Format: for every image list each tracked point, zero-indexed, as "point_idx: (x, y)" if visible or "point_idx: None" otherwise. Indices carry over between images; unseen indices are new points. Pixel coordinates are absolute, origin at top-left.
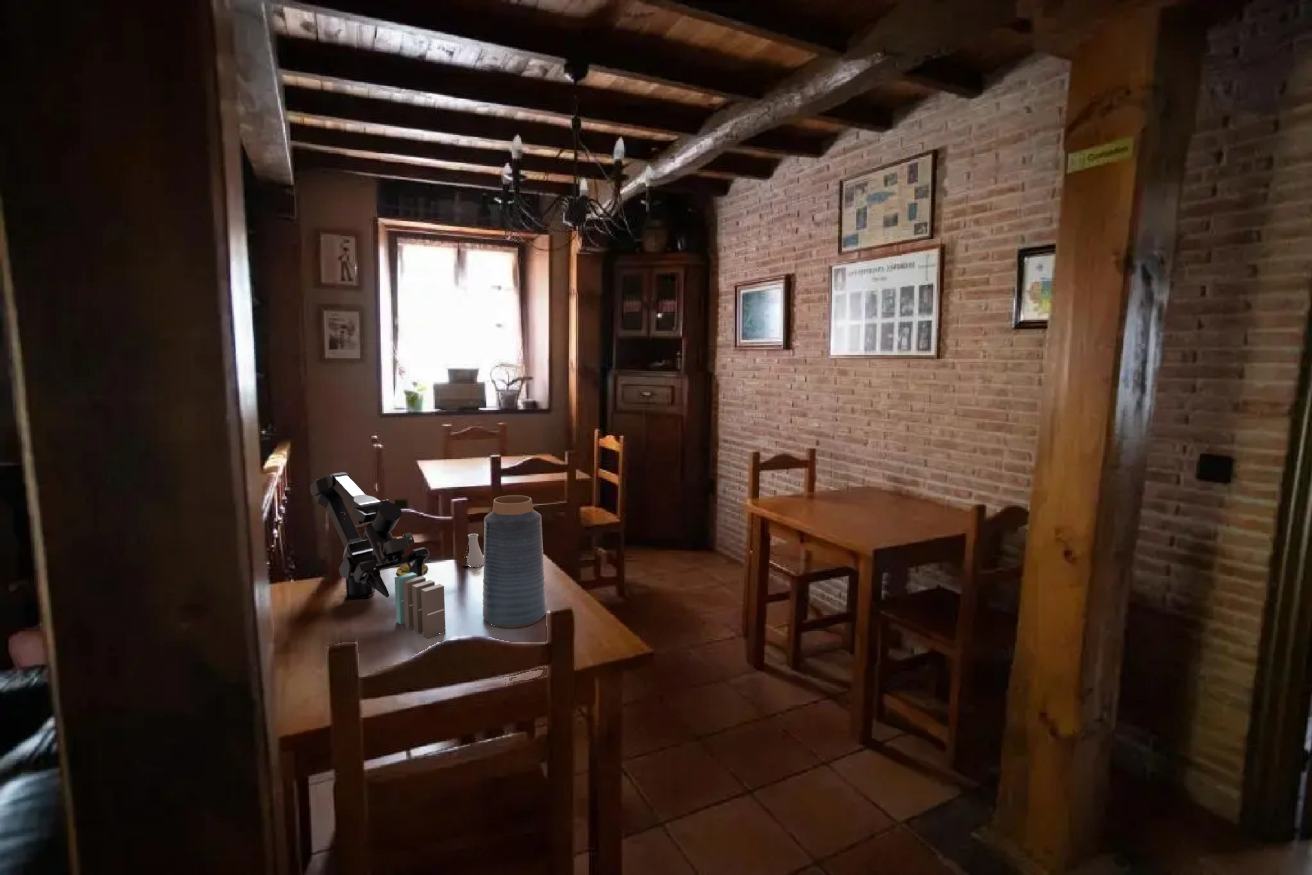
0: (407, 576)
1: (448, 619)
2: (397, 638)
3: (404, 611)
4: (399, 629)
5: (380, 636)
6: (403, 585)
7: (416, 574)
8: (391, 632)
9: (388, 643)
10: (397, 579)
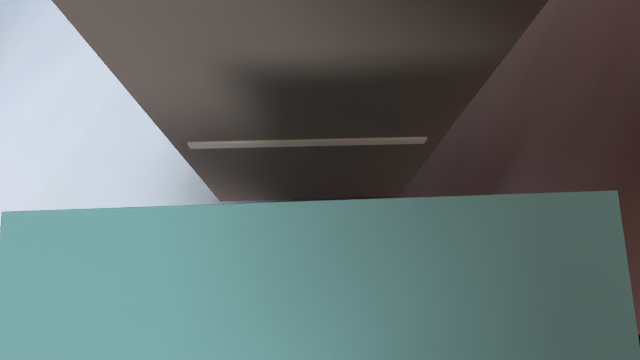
0: (313, 221)
1: (60, 64)
2: (541, 35)
3: (421, 162)
4: (456, 179)
5: (630, 165)
6: (537, 4)
7: (15, 218)
8: (531, 172)
9: (627, 5)
10: (611, 266)
